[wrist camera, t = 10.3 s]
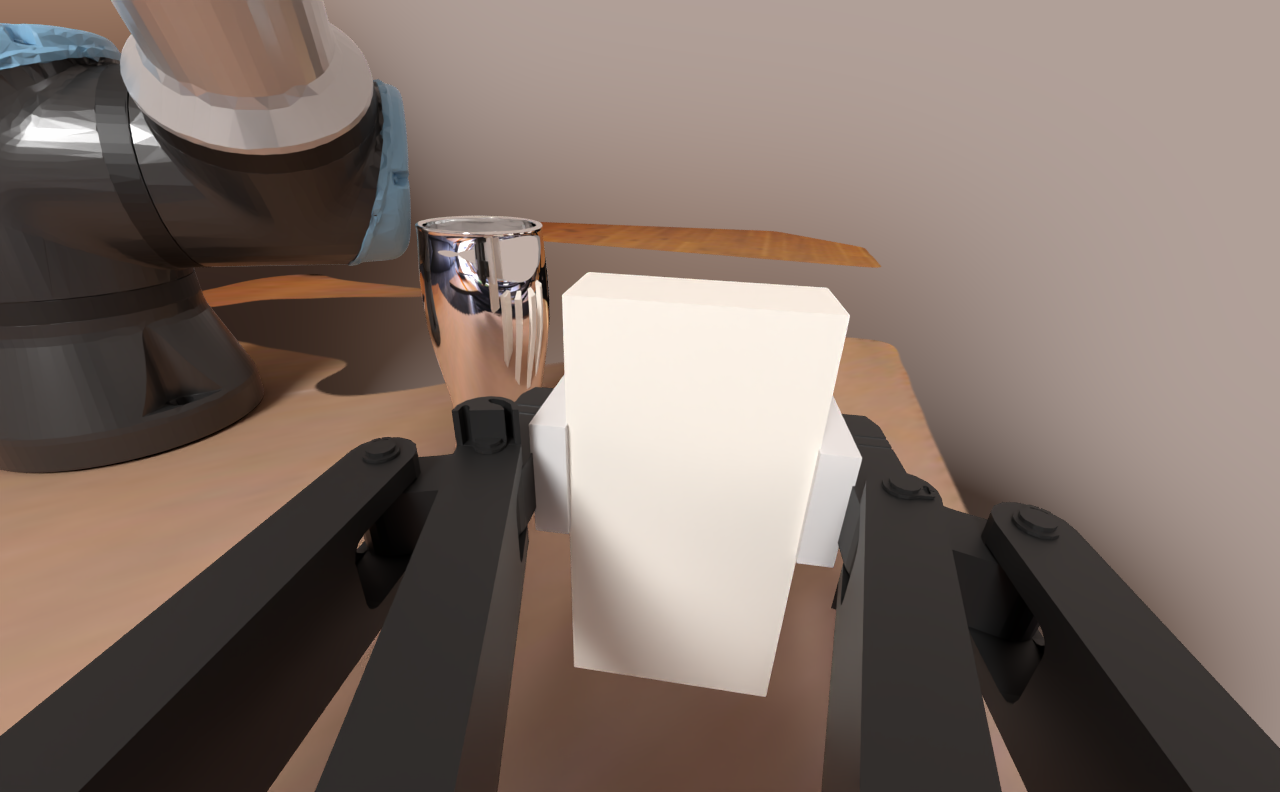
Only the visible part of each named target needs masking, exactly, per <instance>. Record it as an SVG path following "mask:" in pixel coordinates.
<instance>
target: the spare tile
mask: <svg viewBox="0 0 1280 792" xmlns="http://www.w3.org/2000/svg"><path fill="white" fill-rule="evenodd" d="M562 305H563V307H562V308H563V339H564V370H565V401H566V423H568V451H569V483H570V515H571V529H570V554H571V584H572V615H573V645H574V667H578V668H584V669H591V670H597V671H603V672H610V673H616V674H622V675H629V676H635V677H642V678H648V679H654V680H661V681H667V682H673V683H680V684H686V685H692V686H699V687H705V688H712V689H718V690H724V691H731V692H737V693H743V694H750V695H756V696H763V697H766V694H767V690H768V685H769V681H770V676H771V672H772V667H773V663H774V658H775V653H776V649H777V644H778V640H779V635H780V631H781V626H782V622H783V617H784V613H785V608H786V604H787V599H788V595H789V590H790V585H791V581H792V576H793V572H794V567H795V563H796V557H795V556H796V552H797V547H798V543H799V538H800V533H801V529H802V524H803V520H804V515H805V511H806V506H807V502H808V497H809V492H810V488H811V483H812V479H813V474H814V470H815V465H816V460H817V456H818V451H819V449H821V445H822V440H823V436H824V431H825V427H826V422H827V418H828V413H829V409H830V404H831V400H832V395H833V391H834V386H835V382H836V377H837V372H838V368H839V363H840V359H841V354H842V350H843V345H844V341H845V336H846V332H847V327H848V322H849V318H850V315H849V314H848V313H847V311H846V310H845V309H844V308H843V306H842V305H841V304H840V303H839V301H838V300H837V299H836V298H835V297H834V295H833V294H832V293H831V291H830V290H829V289H828V288H821V287H806V286H790V285H775V284H761V283H745V282H744V283H743V282H730V281H715V280H700V279H684V278H669V277H654V276H638V275H623V274H609V273H594V272H588V273H586V274H585V275H584V276H583V277H582V278H581V279H580V280H579V281H577V282H576V283H575V284H574V285H573V286H572V287H571V288H569V289H568V290H567V291H566V292H565V293H564V294H563V295H562Z"/></svg>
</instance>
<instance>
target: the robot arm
mask: <svg viewBox="0 0 1280 792" xmlns="http://www.w3.org/2000/svg"><path fill="white" fill-rule="evenodd" d="M111 1H112V3H113V5H114V6H115V8H116V10H117V11H118V13H119V14H120V16H121V18H122V19H123V21H124V23H125V24H126V26H127V28H128V29H129V31H130V32H131V35H130V36H129V38H128V39H127V41H126V43H125V45H124V47H123V50H122V54H121V53H120V52H119V51H118V49H117V48H116V46H115V45H114V44H113V43H112V42H111V41H110V40H108V39H107V38H105V37H102V36H100V35H97V34H94V33H90V32H86V31H82V30H76V29H70V28H63V27H56V26H48V25H39V24H3V23H0V470H6V471H13V472H32V473H38V472H58V471H69V470H77V469H85V468H92V467H98V466H104V465H109V464H114V463H119V462H124V461H128V460H132V459H136V458H140V457H144V456H148V455H152V454H155V453H159V452H162V451H166V450H169V449H172V448H175V447H178V446H181V445H184V444H187V443H190V442H192V441H195V440H198V439H200V438H203V437H205V436H207V435H210V434H212V433H214V432H216V431H219V430H221V429H223V428H225V427H227V426H229V425H230V424H232V423H234V422H236V421H237V420H239V419H241V418H242V417H244V416H245V415H247V414H248V413H249V412H251V411H252V410H253V409H254V408H255V407H256V406H257V405H258V404H259V403H260V401H261V400H262V398H263V396H264V388H263V385H262V382H261V378H260V375H259V372H258V369H257V367H256V365H255V363H254V361H253V360H252V359H251V357H250V356H249V355H248V354H247V352H246V351H245V350H244V349H243V347H242V346H241V345H240V344H239V342H238V341H237V340H236V339H235V337H234V336H233V335H232V334H231V333H230V331H229V330H228V328H227V327H226V326H225V325H224V323H223V322H222V321H221V320H220V318H219V317H218V316H217V315H216V313H215V312H214V311H213V310H212V308H211V307H210V306H209V305H208V303H207V302H206V300H205V298H204V296H203V293H202V290H201V288H200V285H199V282H198V279H197V276H196V273H195V270H194V267H219V266H221V267H223V266H276V265H277V266H278V265H332V264H333V265H337V264H348V265H357V264H359V263H361V262H367V261H368V262H369V261H380V260H391V259H395V258H397V257H399V256H400V255H402V254H403V253H404V252H405V250H406V249H407V247H408V244H409V241H410V224H411V223H410V222H411V219H410V217H411V214H410V187H409V181H408V175H409V172H408V148H407V134H406V124H405V114H404V107H403V101H402V97H401V94H400V92H399V91H398V90H397V88H396V87H394V86H392V85H389V84H385V83H383V82H382V81H380V80H378V79H377V80H373V78H372V74H371V71H370V69H369V65H368V63H367V61H366V58H365V56H364V54H363V53H362V51H361V50H360V49H359V47H358V46H357V45H356V44H355V43H354V42H353V41H352V40H351V39H350V38H349V37H348V36H347V35H346V34H345V33H344V32H342V31H341V30H340V29H339V28H337V27H336V26H334V25H333V24H331V23H329V20H328V16H327V12H326V9H325V5H324V1H323V0H111ZM452 416H453V423H454V430H455V437H456V444H457V446H456V449H455V451H454V454H449V455H442V456H429V457H418V454H417V448H416V444H415V443H413V442H412V441H411V440H409V439H404V438H400V437H393V438H391V437H384V438H382V439H380V438H378V439H374V440H372V441H370V442H367V443H364V444H361V445H360V446H358V447H356V448H355V449H353V450H351V451H350V452H349V453H348V454H346V455H345V456H344V457H343V458H342V459H340V460H339V461H338V462H337V463H335V464H334V465H333V466H332V467H330V468H329V469H328V470H327V471H326V472H324V473H323V474H322V475H321V476H319V477H318V478H317V479H316V480H315V481H313V482H312V483H311V484H310V485H308V486H307V487H306V488H305V489H303V490H302V491H301V492H300V493H299V494H297V495H296V496H295V497H294V498H292V499H291V500H290V501H289V502H287V503H286V504H285V505H284V506H283V507H281V508H280V509H279V510H278V511H276V512H275V513H274V514H273V515H271V516H270V517H269V518H268V519H267V520H265V521H264V522H263V523H262V524H260V525H259V526H258V527H257V528H256V529H254V530H253V531H252V532H251V533H249V534H248V535H247V536H246V537H244V538H243V539H242V540H241V541H240V542H238V543H237V544H236V545H235V546H233V547H232V548H231V549H230V550H228V551H227V552H226V553H225V554H224V555H222V556H221V557H220V558H219V559H217V560H216V561H215V562H214V563H212V564H211V565H210V566H209V567H208V568H206V569H205V570H204V571H203V572H201V573H200V574H199V575H198V576H196V577H195V578H194V579H193V580H192V581H190V582H189V583H188V584H187V585H185V586H184V587H183V588H182V589H181V590H179V591H178V592H177V593H176V594H174V595H173V596H172V597H171V598H169V599H168V600H167V601H166V602H165V603H163V604H162V605H161V606H160V607H158V608H157V609H156V610H155V611H153V612H152V613H151V614H150V615H149V616H147V617H146V618H145V619H144V620H142V621H141V622H140V623H139V624H137V625H136V626H135V627H134V628H133V629H131V630H130V631H129V632H128V633H126V634H125V635H124V636H123V637H122V638H120V639H119V640H118V641H117V642H115V643H114V644H113V645H112V646H110V647H109V648H108V649H107V650H106V651H104V652H103V653H102V654H101V655H99V656H98V657H97V658H96V659H94V660H93V661H92V662H91V663H90V664H88V665H87V666H86V667H85V668H83V669H82V670H81V671H80V672H78V673H77V674H76V675H75V676H74V677H72V678H71V679H70V680H69V681H67V682H66V683H65V684H64V685H63V686H61V687H60V688H59V689H58V690H56V691H55V692H54V693H53V694H51V695H50V696H49V697H48V698H47V699H45V700H44V701H43V702H42V703H40V704H39V705H38V706H37V707H35V708H34V709H33V710H32V711H31V712H29V713H28V714H27V715H26V716H24V717H23V718H22V719H21V720H19V721H18V722H17V723H16V724H15V725H13V726H12V727H11V728H10V729H8V730H7V731H6V732H5V733H4V734H2V735H1V736H0V792H267V791H268V789H269V788H270V787H271V785H272V784H273V782H274V781H275V779H276V778H277V777H278V775H279V774H280V772H281V771H282V769H283V768H284V767H285V765H286V764H287V762H288V761H289V759H290V758H291V757H292V755H293V754H294V752H295V751H296V749H297V748H298V747H299V745H300V744H301V742H302V741H303V740H304V738H305V737H306V735H307V734H308V732H309V731H310V730H311V728H312V727H313V725H314V724H315V722H316V721H317V720H318V718H319V717H320V715H321V714H322V712H323V711H324V710H325V708H326V707H327V705H328V704H329V702H330V701H331V700H332V698H333V697H334V695H335V694H336V693H337V691H338V690H339V688H340V687H341V685H342V684H343V683H344V681H345V680H346V678H347V677H348V675H349V674H350V673H351V671H352V670H353V668H354V667H355V665H356V664H357V663H358V661H359V660H360V658H361V657H362V655H363V654H364V653H365V651H366V650H367V648H368V647H369V645H370V644H371V643H372V641H373V640H374V638H375V637H376V636H377V634H378V633H379V631H380V630H381V632H380V634H379V637H378V639H377V642H376V644H375V646H374V649H373V651H372V654H371V656H370V659H369V661H368V664H367V666H366V668H365V671H364V673H363V676H362V678H361V681H360V683H359V685H358V688H357V690H356V693H355V695H354V698H353V700H352V703H351V705H350V707H349V710H348V712H347V715H346V717H345V720H344V722H343V724H342V727H341V729H340V732H339V734H338V737H337V739H336V742H335V744H334V746H333V749H332V751H331V754H330V756H329V759H328V761H327V763H326V766H325V768H324V771H323V773H322V776H321V778H320V781H319V783H318V785H317V788H316V790H315V792H497V790H498V782H499V774H500V766H501V758H502V750H503V742H504V734H505V726H506V718H507V710H508V702H509V694H510V686H511V678H512V670H513V662H514V654H515V646H516V638H517V630H518V622H519V614H520V606H521V598H522V590H523V582H524V574H525V566H526V558H527V550H528V543H529V539H528V526H527V524H528V522H529V521H530V519H531V517H532V515H533V513H534V511H535V523H536V530H540V531H547V532H555V533H563V534H569V532H570V529H571V515H570V483H569V451H568V423H566V401H565V374H564V376H563V377H562V378H561V380H560V381H559V383H558V384H557V385H556V387H555V388H554V389H553V388H543V387H534V388H532V389H530V390H528V391H526V392H524V393H523V394H521V395H520V396H519V398H518V399H517V400H516V401H515V402H514V401H513V400H511V399H508V398H504V397H496V396H486V397H477V398H473V399H470V400H466V401H464V402H462V403H460V404H458V405H457V406H456V407H455V408H454V409H453V410H452ZM363 535H364V539H365V541H364V542H363V543H362V545H361V546H360V547H359V548H358V549H357V546H358V543H359V541H360V540H361V538H362V537H363ZM838 548H840V552H841V555H842V558H843V562H844V563H843V567H842V570H841V574H840V578H839V581H838V585H837V589H836V592H835V596H834V600H833V603H832V607H831V608H833V609H836V619H835V631H834V644H833V656H832V668H831V680H830V693H829V705H828V717H827V729H826V742H825V754H824V766H823V778H822V790H821V792H1002V791H1001V786H1000V781H999V776H998V772H997V767H996V762H995V757H994V752H993V747H992V742H991V737H990V732H989V728H988V723H987V718H986V713H985V708H984V703H983V698H984V700H985V702H986V704H987V707H988V709H989V711H990V713H991V715H992V717H993V719H994V721H995V723H996V726H997V728H998V730H999V732H1000V734H1001V736H1002V738H1003V740H1004V743H1005V745H1006V747H1007V749H1008V751H1009V753H1010V755H1011V757H1012V760H1013V762H1014V764H1015V766H1016V768H1017V770H1018V772H1019V774H1020V776H1021V779H1022V781H1023V783H1024V785H1025V787H1026V789H1027V791H1028V792H1280V748H1279V747H1278V746H1277V745H1276V744H1275V743H1274V742H1273V741H1272V740H1271V739H1270V737H1269V736H1268V735H1267V734H1266V733H1265V732H1264V731H1263V730H1262V729H1261V728H1260V727H1259V726H1258V725H1257V724H1256V722H1255V721H1254V720H1253V719H1252V718H1251V717H1250V716H1249V715H1248V714H1247V713H1246V712H1245V711H1244V710H1243V709H1242V708H1241V706H1240V705H1239V704H1238V703H1237V702H1236V701H1235V700H1234V699H1233V698H1232V697H1231V696H1230V695H1229V693H1227V691H1226V690H1225V689H1224V688H1223V687H1222V686H1221V685H1220V684H1219V683H1218V682H1217V681H1216V680H1215V678H1214V677H1212V675H1211V674H1210V673H1209V672H1208V671H1207V670H1206V669H1205V668H1204V667H1203V666H1202V665H1201V663H1200V662H1199V661H1198V660H1197V659H1196V658H1195V657H1194V656H1193V655H1192V654H1191V653H1190V652H1189V651H1188V650H1187V648H1186V647H1185V646H1184V645H1183V644H1182V643H1181V642H1180V641H1179V640H1178V639H1177V638H1176V637H1175V636H1174V634H1172V632H1171V631H1170V630H1169V629H1168V628H1167V627H1166V626H1165V625H1164V624H1163V623H1162V622H1161V621H1160V619H1159V618H1158V617H1157V616H1156V615H1155V614H1154V613H1153V612H1152V611H1151V610H1150V609H1149V608H1148V607H1147V606H1146V604H1144V602H1143V601H1142V600H1141V599H1140V598H1139V597H1138V596H1137V595H1136V594H1135V593H1134V592H1133V591H1132V589H1130V587H1129V586H1128V585H1127V584H1126V583H1125V582H1124V581H1123V580H1122V579H1121V578H1120V577H1119V576H1118V574H1116V572H1115V571H1114V570H1113V569H1112V568H1111V567H1110V566H1109V565H1108V564H1107V563H1106V562H1105V561H1104V560H1103V558H1102V557H1101V556H1100V555H1099V554H1098V553H1097V552H1096V551H1095V550H1094V549H1093V548H1092V547H1091V546H1090V544H1089V543H1088V542H1087V541H1086V540H1085V539H1084V538H1083V537H1082V536H1081V535H1080V534H1079V533H1078V532H1077V531H1076V530H1075V529H1074V528H1073V527H1072V526H1070V525H1069V524H1068V523H1067V522H1066V521H1064V520H1062V519H1061V518H1059V517H1057V516H1055V515H1053V514H1052V513H1051V512H1049V511H1047V510H1044V509H1042V508H1041V509H1039V507H1036V506H1032V505H1025V504H1021V503H1015V502H1006V503H1005V502H1002V503H1000V504H997V505H994V506H993V508H992V511H991V513H990V516H989V518H988V520H987V519H984V518H980V517H977V516H973V515H969V514H966V513H963V512H959V511H956V510H953V509H950V508H947V507H945V506H943V503H942V498H941V496H940V495H939V493H938V491H937V490H936V489H935V488H934V487H933V486H931V485H930V484H929V483H928V482H926V481H924V480H922V479H920V478H918V477H916V476H913V475H910V474H907V473H906V471H905V469H904V468H903V466H902V464H901V463H900V461H899V459H898V458H897V456H896V454H895V452H894V451H893V450H892V449H891V446H890V444H889V442H888V441H887V440H886V437H885V435H884V434H883V432H882V430H881V429H880V427H879V426H878V425H876V424H875V423H874V422H872V421H871V420H870V419H868V418H867V417H866V416H858V415H847V414H841V412H840V410H839V408H838V406H837V403H836V401H835V399H834V397H833V395H832V400H831V404H830V409H829V413H828V418H827V422H826V427H825V431H824V436H823V440H822V445H821V449H819V451H818V456H817V460H816V465H815V470H814V474H813V479H812V483H811V488H810V492H809V497H808V502H807V506H806V511H805V515H804V520H803V524H802V529H801V533H800V538H799V543H798V547H797V552H796V556H795V557H796V562H797V563H800V564H808V565H816V566H824V567H831V568H833V567H834V563H835V560H836V556H837V552H838ZM1039 626H1040V627H1041V629H1042V632H1043V636H1044V638H1043V637H1042V635H1041V634H1040V632H1039V631H1038V628H1039ZM381 628H382V629H381ZM982 696H983V698H982Z"/></svg>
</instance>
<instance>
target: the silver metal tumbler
mask: <svg viewBox="0 0 1280 792" xmlns="http://www.w3.org/2000/svg"><path fill="white" fill-rule="evenodd" d="M415 227H416V231H417V243H418V261H419V273H420V285H421V293H422V301H423V307H424V312H425V318H426V323H427V328H428V331H429V335H430V338H431V342H432V345H433V348H434V351H435V354H436V357H437V360H438V363H439V366H440V369H441V372H442V374H443V377H444V380H445V383H446V386H447V388H448V391H449V395H450V398H451V401H452V404H453V408H455V407H456V406H457V405H458V404H460V403H462V402H464V401H466V400H470V399H473V398H477V397H486V396H496V397H504V398H508V399H511V400H513V401H514V402H515V401H516V400H517V399H518V398H519V396H520V395H521V394H523V393H524V392H526V391H528V390H530V389H532V388H534V387H542V380H543V373H544V366H545V358H546V351H547V344H548V333H549V319H550V317H549V287H548V274H547V266H546V258H545V250H544V243H543V234H542V224H541V223H540V222H537V221H534V220H529V219H523V218H515V217H500V216H455V217H442V218H433V219H427V220H423V221H420V222H418V223H417V224H416V225H415ZM456 446H457V444H456V443H455V449H456Z"/></svg>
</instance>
